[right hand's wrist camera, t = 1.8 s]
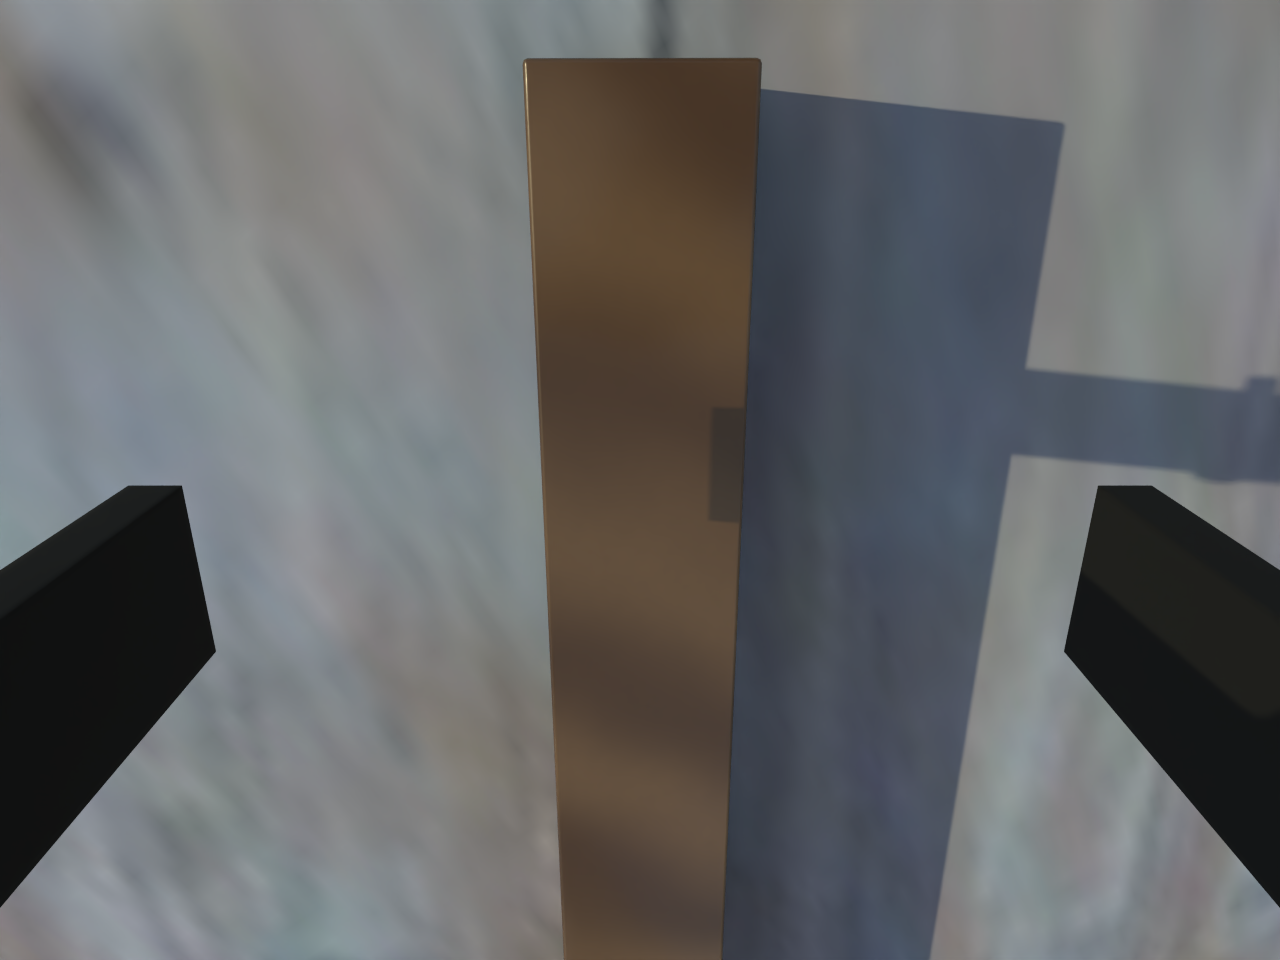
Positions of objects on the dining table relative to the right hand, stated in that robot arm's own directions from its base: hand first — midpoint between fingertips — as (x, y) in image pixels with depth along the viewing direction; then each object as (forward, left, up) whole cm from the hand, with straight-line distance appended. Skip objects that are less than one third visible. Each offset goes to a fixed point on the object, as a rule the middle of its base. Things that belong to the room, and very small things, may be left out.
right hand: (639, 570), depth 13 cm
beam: (+17, +30, -14) cm, 37 cm away
